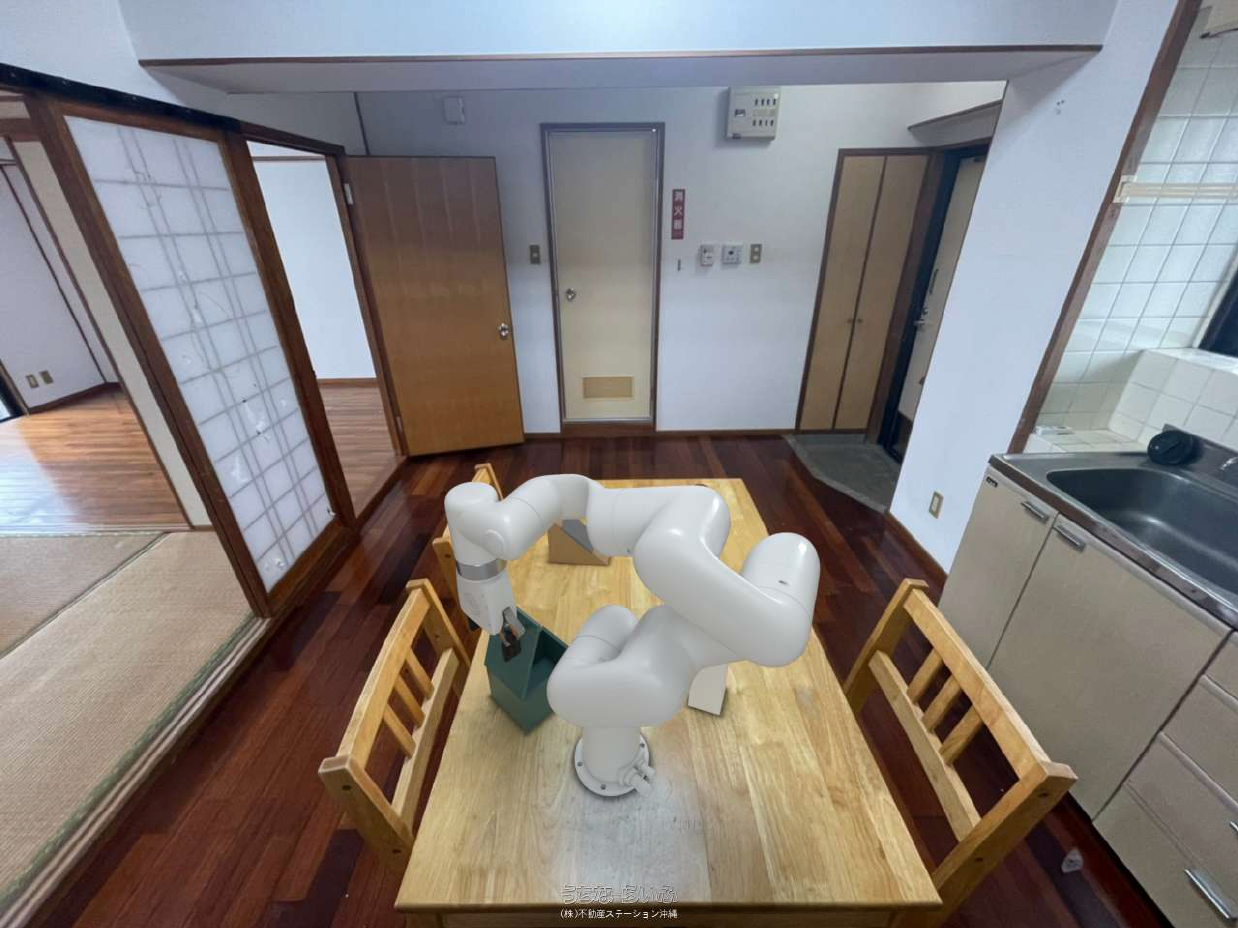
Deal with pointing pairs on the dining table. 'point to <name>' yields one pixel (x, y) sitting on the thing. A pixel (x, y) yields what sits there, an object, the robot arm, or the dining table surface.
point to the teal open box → (532, 683)
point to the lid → (518, 667)
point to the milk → (709, 689)
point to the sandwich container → (572, 544)
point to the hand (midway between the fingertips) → (495, 640)
